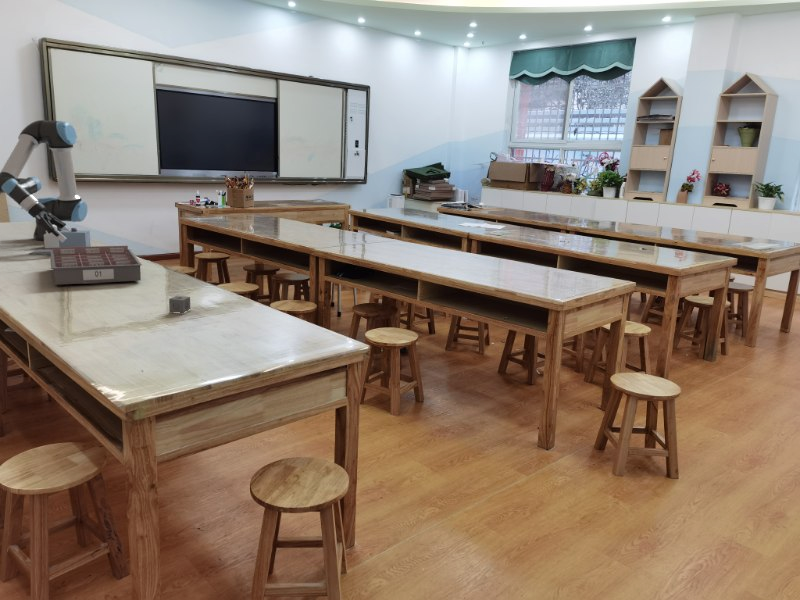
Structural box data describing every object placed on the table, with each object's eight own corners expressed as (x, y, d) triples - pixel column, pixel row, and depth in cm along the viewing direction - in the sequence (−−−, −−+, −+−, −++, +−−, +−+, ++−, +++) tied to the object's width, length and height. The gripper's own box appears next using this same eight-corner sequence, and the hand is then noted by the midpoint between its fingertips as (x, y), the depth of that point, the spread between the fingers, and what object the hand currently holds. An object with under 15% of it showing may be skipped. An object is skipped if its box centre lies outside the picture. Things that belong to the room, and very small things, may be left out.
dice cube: (169, 313, 205) (169, 298, 204) (177, 309, 210) (176, 295, 209) (183, 314, 205) (182, 300, 204) (190, 310, 210) (190, 296, 208)
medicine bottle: (47, 246, 317) (45, 223, 314) (63, 246, 319) (61, 223, 316) (44, 248, 310) (42, 225, 307) (59, 248, 312) (58, 225, 310)
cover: (65, 251, 304) (63, 226, 301) (90, 252, 307) (89, 227, 304) (59, 254, 297) (57, 228, 294) (86, 254, 299) (84, 229, 296)
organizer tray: (52, 288, 230) (50, 263, 227) (51, 269, 263) (49, 246, 261) (143, 284, 246) (142, 260, 243) (131, 266, 279) (130, 245, 277)
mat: (37, 250, 303) (37, 249, 303) (59, 251, 306) (59, 249, 305) (29, 254, 292) (28, 253, 292) (51, 255, 294) (51, 253, 294)
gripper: (37, 209, 304) (71, 240, 310) (17, 214, 280) (54, 247, 286) (48, 199, 304) (82, 230, 310) (29, 203, 280) (66, 236, 286)
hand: (69, 238), depth 298 cm, fingers open, 13 cm apart
